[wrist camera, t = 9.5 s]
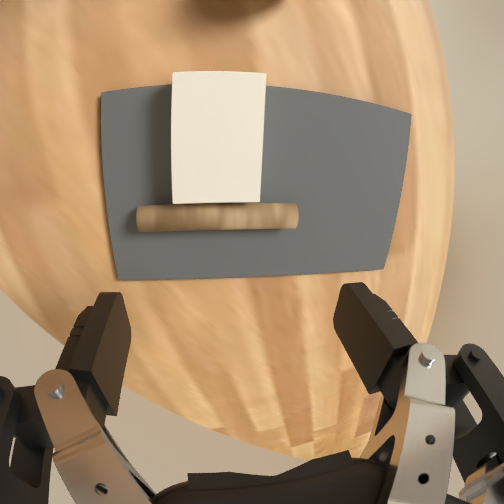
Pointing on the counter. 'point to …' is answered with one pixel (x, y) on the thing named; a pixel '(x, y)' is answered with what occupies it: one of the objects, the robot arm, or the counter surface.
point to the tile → (217, 136)
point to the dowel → (216, 216)
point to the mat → (272, 187)
